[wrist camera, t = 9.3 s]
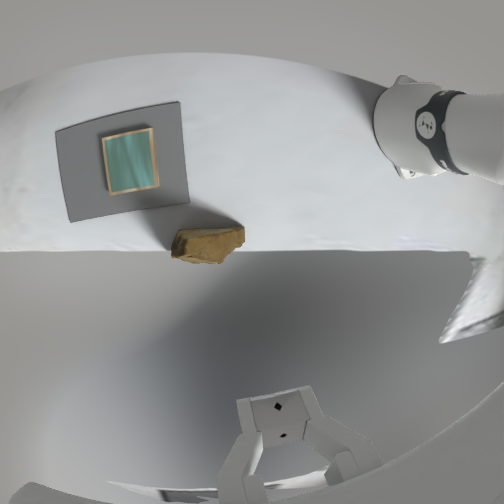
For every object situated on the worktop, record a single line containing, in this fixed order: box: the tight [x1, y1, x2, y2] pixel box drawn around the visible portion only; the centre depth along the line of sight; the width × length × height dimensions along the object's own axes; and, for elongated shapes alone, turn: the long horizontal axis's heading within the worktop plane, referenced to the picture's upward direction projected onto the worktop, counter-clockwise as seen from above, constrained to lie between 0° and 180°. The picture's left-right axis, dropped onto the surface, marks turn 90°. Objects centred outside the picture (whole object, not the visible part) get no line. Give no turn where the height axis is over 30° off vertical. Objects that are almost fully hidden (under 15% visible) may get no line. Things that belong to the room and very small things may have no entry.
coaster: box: [102, 128, 160, 196], centre depth 32 cm, size 2×8×7 cm
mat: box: [56, 102, 190, 223], centre depth 32 cm, size 19×14×1 cm
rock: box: [171, 226, 245, 264], centre depth 37 cm, size 11×9×10 cm
